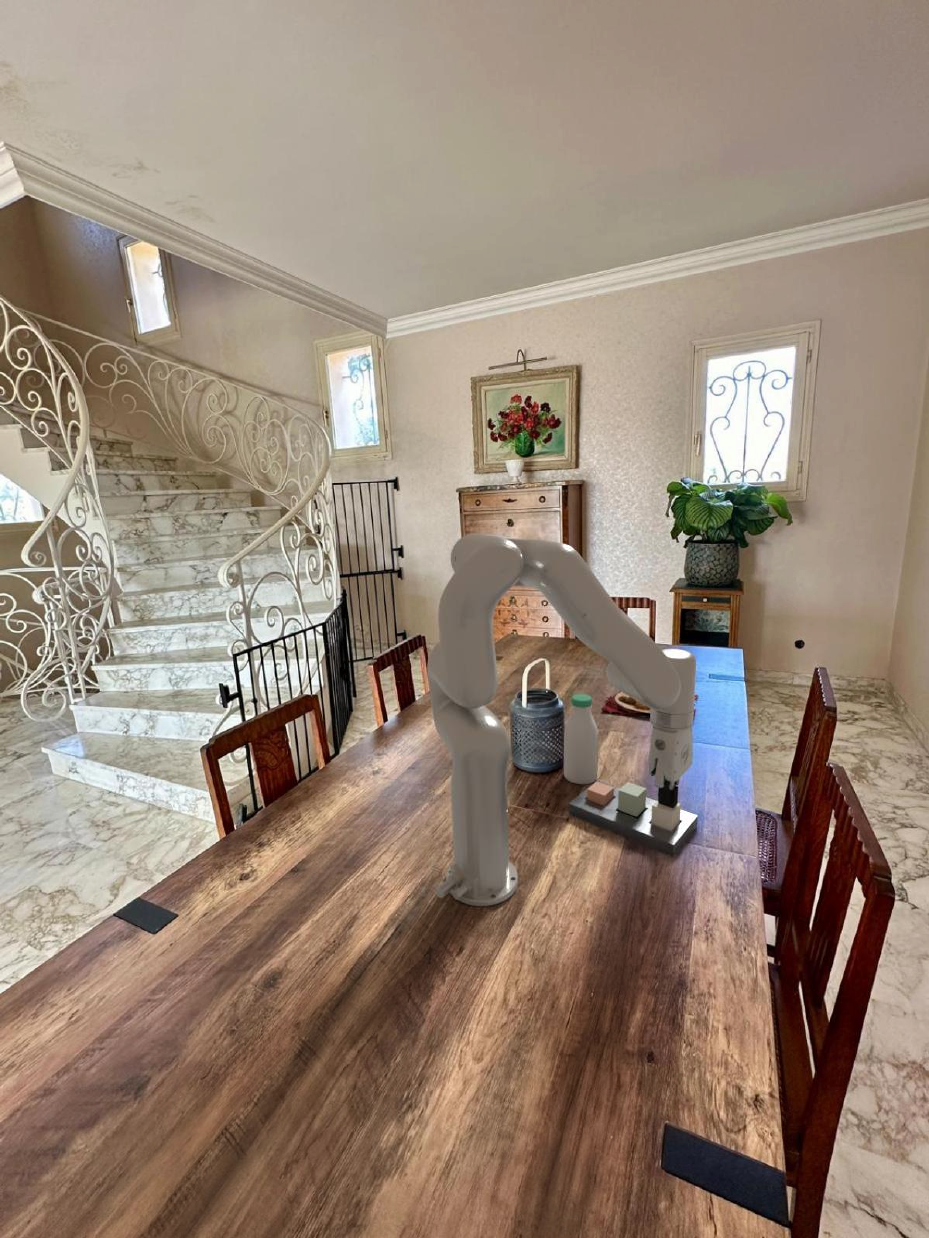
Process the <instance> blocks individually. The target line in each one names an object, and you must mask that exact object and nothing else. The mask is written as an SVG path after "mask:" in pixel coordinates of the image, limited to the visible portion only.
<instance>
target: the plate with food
mask: <svg viewBox="0 0 929 1238" xmlns="http://www.w3.org/2000/svg"><path fill="white" fill-rule="evenodd" d="M618 691H619V690H618ZM606 698H607V699H606V700H605V701H604V705H602V706H603V707H601V708H600V709H601V710H602V711H605V712H609V713H610V714H611V713H616V714H617V713H618V714H619V715H621V716H625V715H629V716H636V717H639V716H640V717H641V718H645V715H643V714H650V707H647V706H646V705H644V704H642V703H640V702H639V701H637V700H635V699H634V698H632V697H630V696H628V695H626V694H624V693H622V692H621V691H619V692H617V693H615V695H612V696H608V697H606ZM698 698H699V694H695V698H694V707H695V706H696V704H698V701H699V700H698ZM696 710H697V709H695V708H694V716H693V723H694V722H695V715H696V712H697V711H696ZM639 713H643V714H639Z"/></svg>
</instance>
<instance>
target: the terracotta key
mask: <svg viewBox="0 0 929 1238" xmlns="http://www.w3.org/2000/svg"><path fill="white" fill-rule="evenodd" d="M595 782H596V781H595ZM595 782H593V783H594V784H593V783H592V784H593V785H592V784H591V785H592V786H591V785H590V786H591V787H590V786H589V788H588V787H587V788H588V789H587V788H586V789H587V800H589V801H592V802H595V803H597V804H600V805H603V806H606V805H608V804H609V803H610V802H611V801H612V800H613V799H614V787H611V786H608V785H605V784H602V783H600V782H596V783H595Z"/></svg>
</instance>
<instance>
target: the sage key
mask: <svg viewBox="0 0 929 1238" xmlns="http://www.w3.org/2000/svg"><path fill="white" fill-rule="evenodd" d="M619 788H620V789H619V792H618V810H620V811H623V812H624V814H627V815H628V814H629V815H630V816H632V817H633V816H634V817H635V818H637V817H639V816H638V815H639V814H640V813H641V812H642V811H643V810H644V809H645V806H646V797H647V788H646V787H644V786H641V785H638V784H635V783H631V782H628V781H627V782H626V783H625V784H623V785H622V787H619Z"/></svg>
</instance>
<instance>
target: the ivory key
mask: <svg viewBox="0 0 929 1238" xmlns="http://www.w3.org/2000/svg"><path fill="white" fill-rule="evenodd" d="M655 801H656V802H655V803H654V804H653V805H652V818H651V824H652V825H655V826H658V827H660V828H663V829H665V830H668V831H671V832H674V830H675V829H676V828H677V826H678V825H679V824H680V809H681V810H682V808H681V806H682V805H681V804H682V803H680V802H678V804H677V805H676V806H675V807H674V808H670V807H667V806H664V805H662V804H659V803H658V799H657V800H655Z"/></svg>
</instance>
